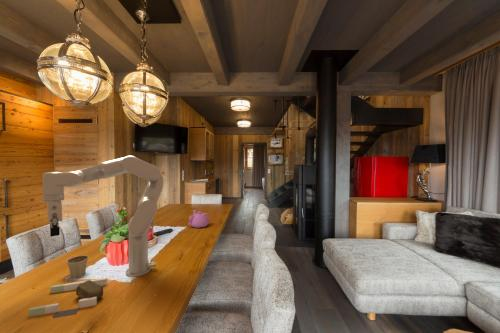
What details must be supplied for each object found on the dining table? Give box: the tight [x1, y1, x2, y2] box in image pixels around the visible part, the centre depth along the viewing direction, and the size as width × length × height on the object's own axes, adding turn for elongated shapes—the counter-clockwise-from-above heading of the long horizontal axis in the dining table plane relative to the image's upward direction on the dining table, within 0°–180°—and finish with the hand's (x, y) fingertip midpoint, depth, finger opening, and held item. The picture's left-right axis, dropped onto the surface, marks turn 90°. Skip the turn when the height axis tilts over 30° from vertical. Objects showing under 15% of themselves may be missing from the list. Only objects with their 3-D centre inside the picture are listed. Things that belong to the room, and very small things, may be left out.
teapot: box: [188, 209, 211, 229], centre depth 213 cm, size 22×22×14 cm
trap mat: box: [52, 307, 81, 319], centre depth 88 cm, size 8×4×1 cm, turn 110°
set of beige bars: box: [28, 277, 108, 318], centre depth 98 cm, size 22×18×3 cm
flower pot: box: [65, 254, 90, 278], centre depth 118 cm, size 9×9×9 cm
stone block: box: [75, 279, 104, 301], centre depth 98 cm, size 6×12×5 cm, turn 66°
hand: (54, 233), depth 106 cm, fingers open, 9 cm apart
